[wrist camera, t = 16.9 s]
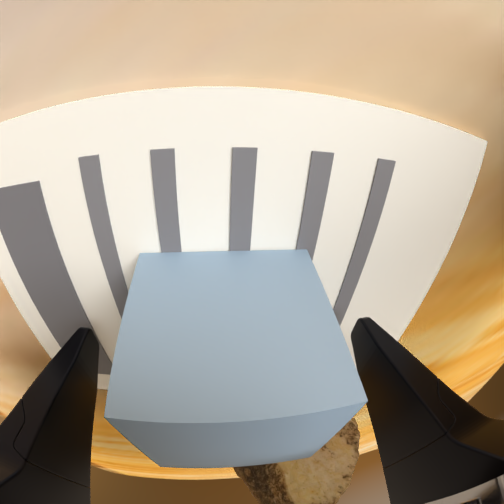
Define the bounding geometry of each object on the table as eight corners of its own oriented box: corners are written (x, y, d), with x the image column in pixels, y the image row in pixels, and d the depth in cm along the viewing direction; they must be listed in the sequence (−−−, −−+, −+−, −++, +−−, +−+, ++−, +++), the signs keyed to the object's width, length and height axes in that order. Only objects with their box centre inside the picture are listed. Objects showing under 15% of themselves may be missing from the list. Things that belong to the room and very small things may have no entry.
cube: (307, 249, 9) (368, 401, 5) (284, 345, 12) (310, 457, 8) (139, 253, 8) (103, 416, 4) (164, 350, 11) (160, 466, 7)
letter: (484, 139, 7) (488, 142, 7) (374, 370, 15) (375, 373, 15) (-41, 139, 5) (-46, 142, 4) (73, 382, 13) (72, 386, 13)
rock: (394, 424, 19) (351, 436, 13) (364, 506, 16) (304, 547, 10) (295, 402, 26) (224, 393, 20) (273, 472, 23) (197, 481, 17)
